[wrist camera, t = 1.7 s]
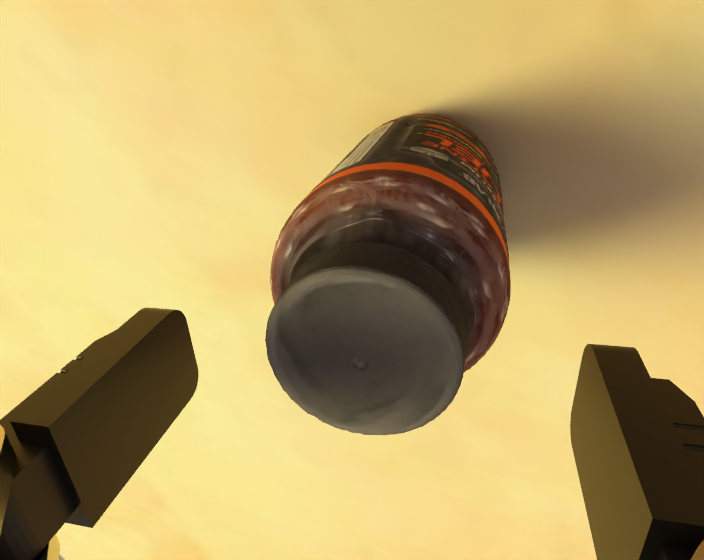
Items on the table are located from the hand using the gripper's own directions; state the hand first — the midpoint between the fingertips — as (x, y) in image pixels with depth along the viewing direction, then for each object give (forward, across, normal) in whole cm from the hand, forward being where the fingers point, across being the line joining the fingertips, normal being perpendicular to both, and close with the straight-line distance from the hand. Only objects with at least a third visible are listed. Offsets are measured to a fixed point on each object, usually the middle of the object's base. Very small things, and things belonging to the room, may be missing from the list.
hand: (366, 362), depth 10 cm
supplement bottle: (+11, 0, 0) cm, 11 cm away
